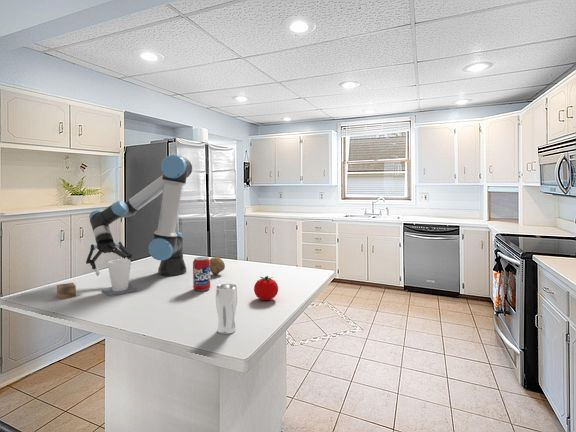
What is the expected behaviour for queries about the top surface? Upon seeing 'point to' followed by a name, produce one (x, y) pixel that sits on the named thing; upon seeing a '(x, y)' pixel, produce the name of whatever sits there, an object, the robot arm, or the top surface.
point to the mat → (113, 293)
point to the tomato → (266, 288)
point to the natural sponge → (216, 265)
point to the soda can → (201, 274)
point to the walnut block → (66, 290)
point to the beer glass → (226, 307)
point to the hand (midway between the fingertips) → (114, 272)
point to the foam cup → (119, 273)
